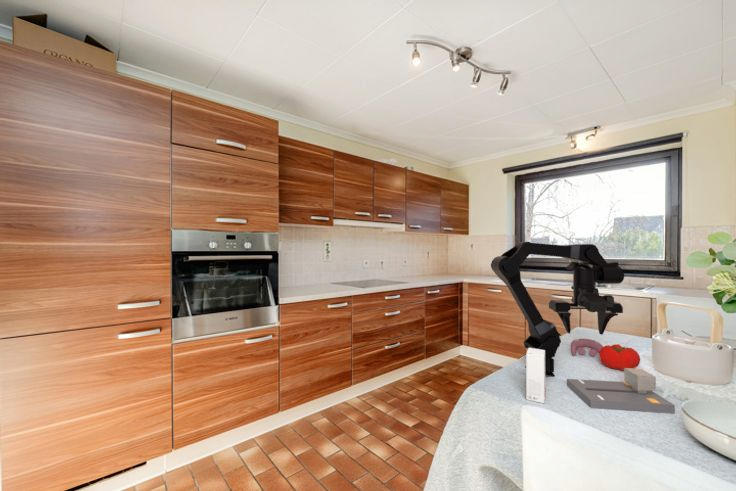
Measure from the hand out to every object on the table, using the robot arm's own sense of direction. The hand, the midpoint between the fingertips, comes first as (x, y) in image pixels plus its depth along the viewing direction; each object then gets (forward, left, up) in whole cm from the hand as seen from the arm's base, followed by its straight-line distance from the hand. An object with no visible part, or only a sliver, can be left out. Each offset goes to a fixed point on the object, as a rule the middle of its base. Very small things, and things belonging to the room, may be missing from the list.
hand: (584, 333), depth 97 cm
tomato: (+13, +6, -12) cm, 19 cm away
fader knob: (+4, -17, -10) cm, 20 cm away
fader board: (-1, -17, -12) cm, 21 cm away
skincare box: (-21, -19, -12) cm, 31 cm away
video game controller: (+8, +15, -12) cm, 21 cm away
